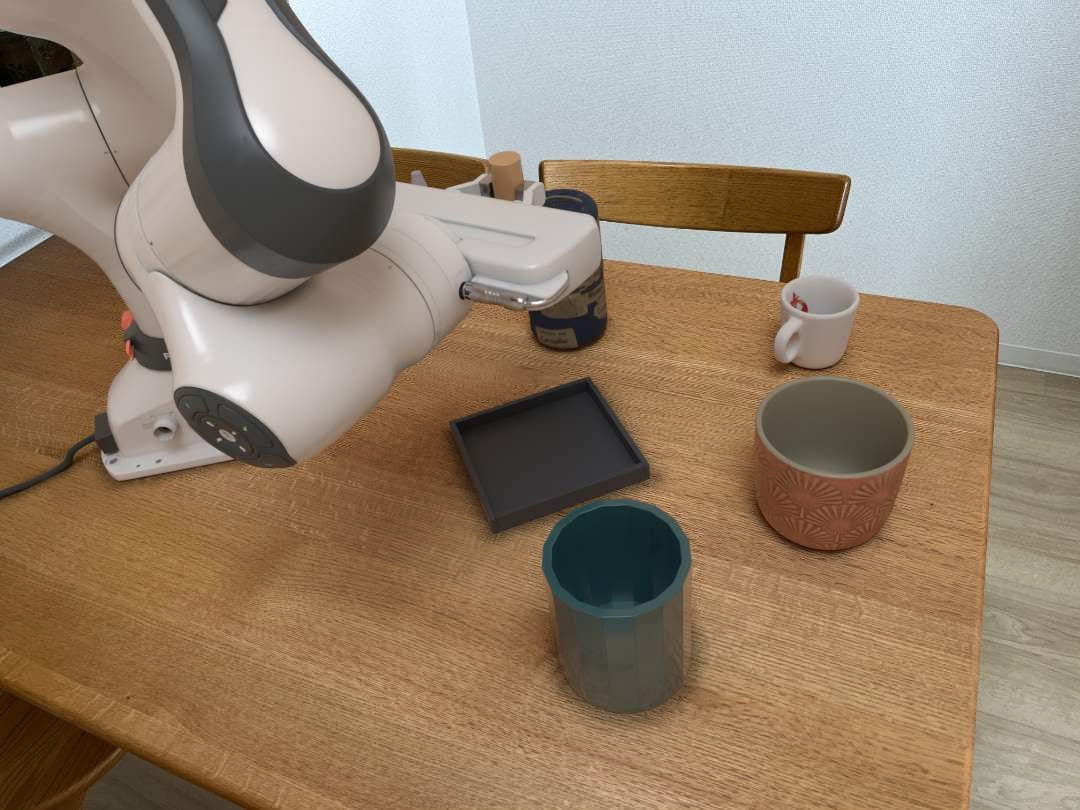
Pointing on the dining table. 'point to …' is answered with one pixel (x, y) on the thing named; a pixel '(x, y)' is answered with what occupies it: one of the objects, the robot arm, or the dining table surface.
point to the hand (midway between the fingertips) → (515, 186)
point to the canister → (583, 307)
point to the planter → (830, 459)
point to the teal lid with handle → (505, 174)
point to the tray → (546, 453)
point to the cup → (815, 321)
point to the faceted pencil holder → (620, 603)
